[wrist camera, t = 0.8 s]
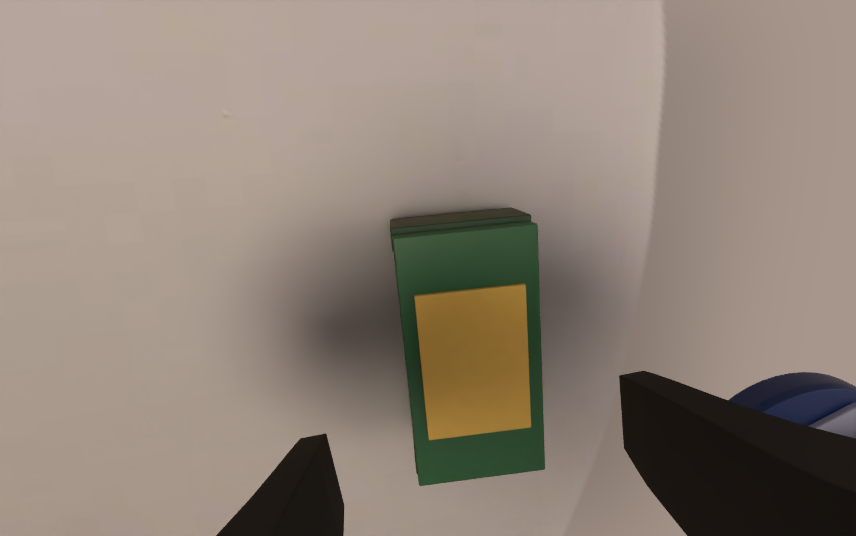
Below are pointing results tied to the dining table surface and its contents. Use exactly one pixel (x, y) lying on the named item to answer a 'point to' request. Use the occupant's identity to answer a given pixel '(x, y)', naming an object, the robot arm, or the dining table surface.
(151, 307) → the dining table surface
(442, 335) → the green box
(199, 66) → the dining table surface
